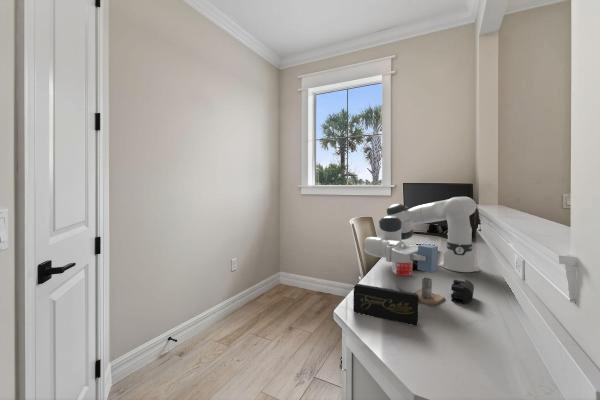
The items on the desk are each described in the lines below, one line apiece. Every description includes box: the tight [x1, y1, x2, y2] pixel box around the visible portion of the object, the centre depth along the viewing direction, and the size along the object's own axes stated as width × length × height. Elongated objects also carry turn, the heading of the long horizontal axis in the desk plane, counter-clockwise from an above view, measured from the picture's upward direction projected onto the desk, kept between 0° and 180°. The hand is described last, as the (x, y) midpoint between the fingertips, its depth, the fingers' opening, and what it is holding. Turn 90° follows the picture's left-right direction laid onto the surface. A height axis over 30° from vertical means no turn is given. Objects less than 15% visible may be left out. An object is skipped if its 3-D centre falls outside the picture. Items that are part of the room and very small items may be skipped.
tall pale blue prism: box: [416, 243, 439, 274], centre depth 107 cm, size 5×5×10 cm
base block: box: [413, 277, 446, 307], centre depth 108 cm, size 10×10×8 cm
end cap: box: [450, 279, 475, 305], centre depth 107 cm, size 10×7×7 cm
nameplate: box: [352, 283, 420, 327], centre depth 92 cm, size 21×2×10 cm, turn 63°
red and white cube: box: [391, 260, 414, 276], centre depth 141 cm, size 8×8×8 cm
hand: (429, 257), depth 106 cm, fingers closed on tall pale blue prism, 5 cm apart
